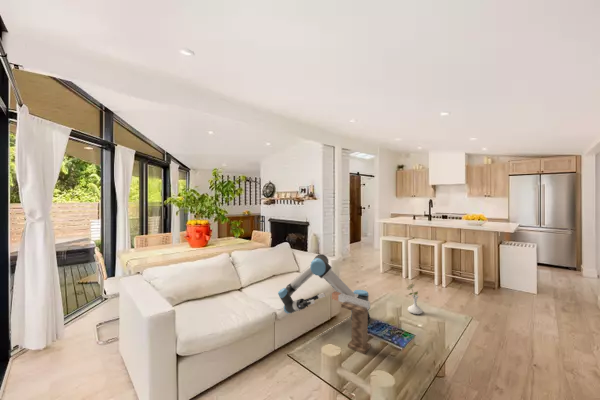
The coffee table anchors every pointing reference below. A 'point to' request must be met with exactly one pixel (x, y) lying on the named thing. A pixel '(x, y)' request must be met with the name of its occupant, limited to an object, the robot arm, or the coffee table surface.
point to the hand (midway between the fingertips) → (319, 297)
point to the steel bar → (351, 300)
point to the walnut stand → (358, 328)
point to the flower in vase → (414, 307)
